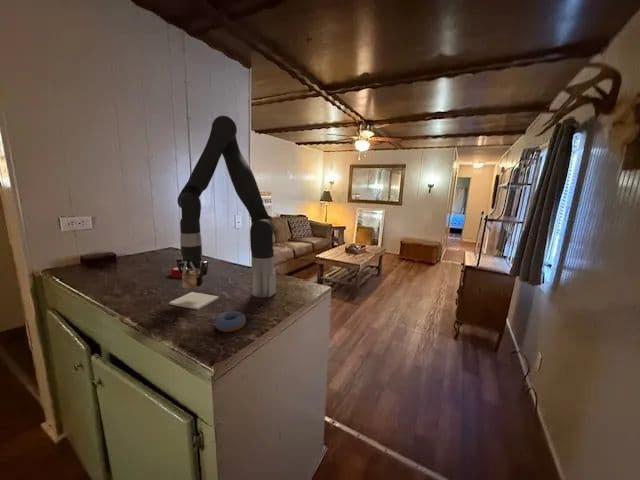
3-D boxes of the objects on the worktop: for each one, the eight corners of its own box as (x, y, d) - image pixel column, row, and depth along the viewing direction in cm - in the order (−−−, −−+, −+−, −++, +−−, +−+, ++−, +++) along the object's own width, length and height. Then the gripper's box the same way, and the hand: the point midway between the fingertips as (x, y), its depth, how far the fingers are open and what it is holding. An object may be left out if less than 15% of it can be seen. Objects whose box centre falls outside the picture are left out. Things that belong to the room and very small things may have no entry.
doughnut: (207, 329, 90) (208, 316, 89) (227, 317, 100) (228, 306, 99) (232, 338, 87) (233, 325, 86) (251, 325, 96) (252, 313, 95)
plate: (218, 298, 116) (218, 296, 116) (198, 309, 105) (198, 307, 104) (191, 293, 120) (191, 291, 120) (169, 304, 109) (169, 302, 109)
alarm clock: (181, 264, 152) (199, 262, 145) (183, 275, 153) (202, 273, 146) (163, 269, 143) (182, 266, 136) (166, 280, 143) (185, 279, 137)
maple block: (203, 285, 113) (203, 272, 112) (193, 289, 108) (193, 276, 107) (193, 283, 115) (192, 270, 114) (182, 287, 110) (182, 274, 109)
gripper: (212, 243, 109) (214, 284, 113) (184, 240, 114) (186, 279, 117) (199, 247, 102) (201, 290, 106) (169, 243, 107) (172, 285, 110)
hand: (193, 284), depth 111 cm, fingers closed on maple block, 5 cm apart
